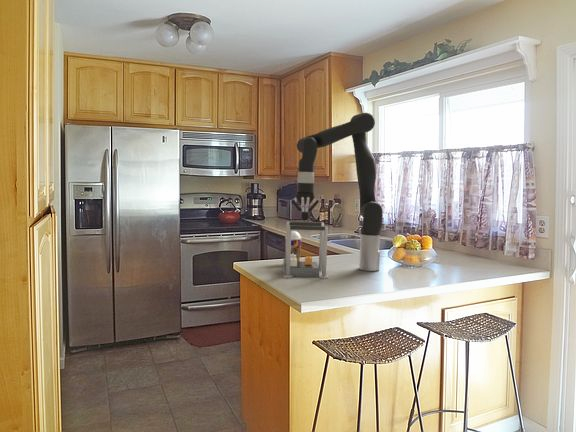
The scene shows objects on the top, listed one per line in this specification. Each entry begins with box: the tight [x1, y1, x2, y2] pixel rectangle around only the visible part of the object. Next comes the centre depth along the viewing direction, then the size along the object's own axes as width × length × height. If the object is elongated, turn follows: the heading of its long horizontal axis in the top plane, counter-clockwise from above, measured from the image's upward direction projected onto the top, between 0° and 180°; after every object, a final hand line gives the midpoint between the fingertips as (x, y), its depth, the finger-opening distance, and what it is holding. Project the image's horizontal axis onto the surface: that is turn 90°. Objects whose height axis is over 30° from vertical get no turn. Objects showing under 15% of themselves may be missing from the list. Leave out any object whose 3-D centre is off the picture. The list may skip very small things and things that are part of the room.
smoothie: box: [284, 225, 303, 261], centre depth 223 cm, size 8×8×20 cm
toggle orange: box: [304, 255, 313, 265], centre depth 206 cm, size 3×3×4 cm
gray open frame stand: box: [282, 221, 329, 280], centre depth 205 cm, size 20×20×23 cm
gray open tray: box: [282, 257, 320, 278], centre depth 206 cm, size 16×14×6 cm
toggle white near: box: [290, 258, 297, 266], centre depth 201 cm, size 3×3×4 cm
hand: (304, 220), depth 204 cm, fingers closed
